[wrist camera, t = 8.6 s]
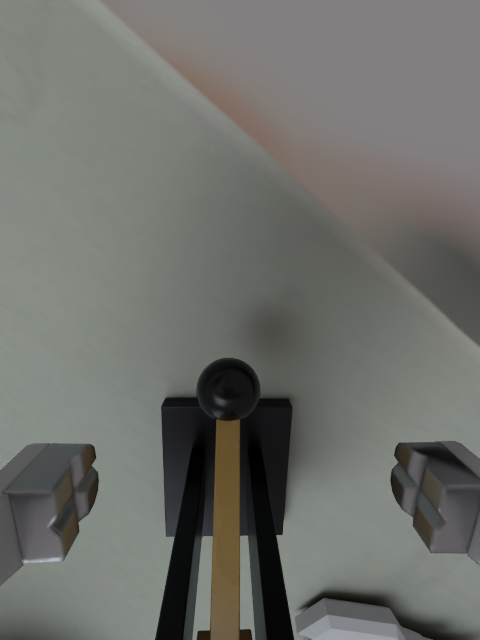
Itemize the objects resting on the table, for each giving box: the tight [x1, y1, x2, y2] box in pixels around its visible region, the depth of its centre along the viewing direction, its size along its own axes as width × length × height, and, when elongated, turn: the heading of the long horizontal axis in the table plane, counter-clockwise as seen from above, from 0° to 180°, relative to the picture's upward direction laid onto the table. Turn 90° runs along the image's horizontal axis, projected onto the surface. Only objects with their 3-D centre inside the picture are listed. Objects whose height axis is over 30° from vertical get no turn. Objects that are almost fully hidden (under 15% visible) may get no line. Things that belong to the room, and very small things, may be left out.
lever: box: [196, 358, 260, 640], centre depth 12 cm, size 14×3×3 cm
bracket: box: [155, 398, 294, 640], centre depth 15 cm, size 11×9×14 cm
